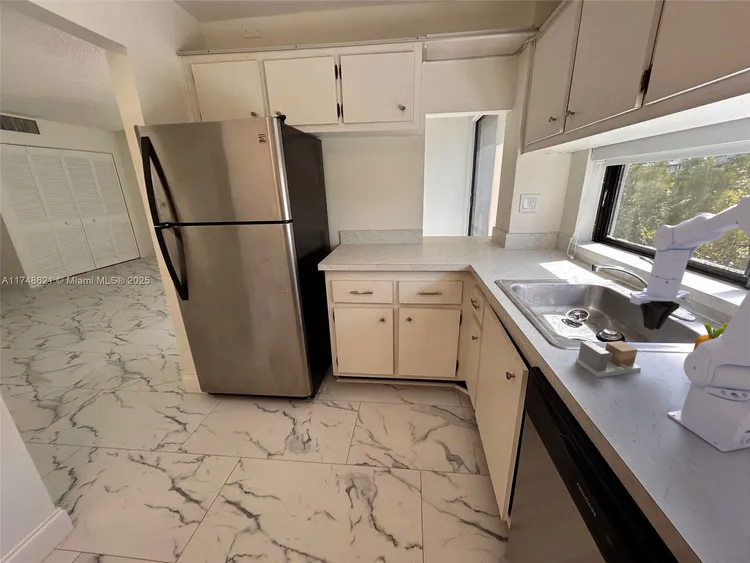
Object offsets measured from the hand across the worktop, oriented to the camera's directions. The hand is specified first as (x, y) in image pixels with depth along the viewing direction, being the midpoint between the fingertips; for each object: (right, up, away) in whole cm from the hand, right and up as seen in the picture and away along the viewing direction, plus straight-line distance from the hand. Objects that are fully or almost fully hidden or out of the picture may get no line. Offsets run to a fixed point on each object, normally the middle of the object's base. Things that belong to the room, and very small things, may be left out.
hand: (651, 327), depth 78 cm
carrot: (+7, -12, -4) cm, 15 cm away
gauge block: (-8, -9, +1) cm, 12 cm away
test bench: (-10, -10, +2) cm, 14 cm away
